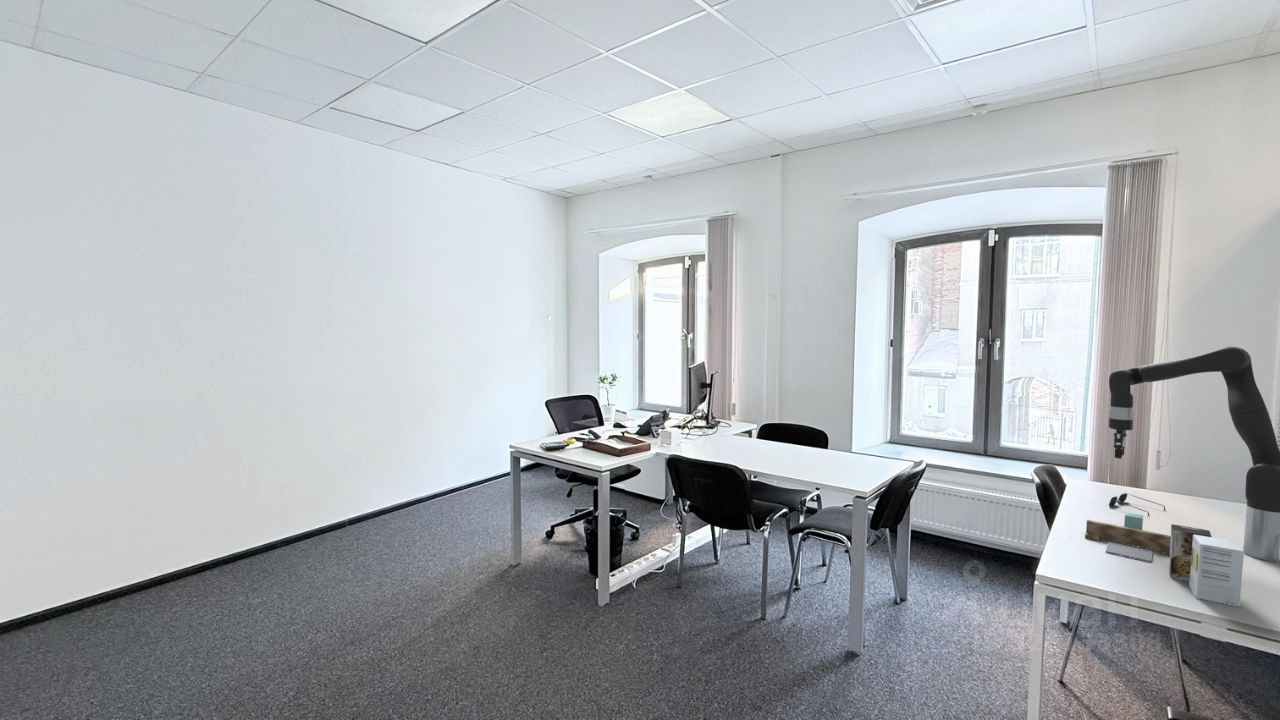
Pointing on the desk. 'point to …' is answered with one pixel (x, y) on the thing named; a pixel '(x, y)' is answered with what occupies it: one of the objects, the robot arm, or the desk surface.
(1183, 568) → the coffee box
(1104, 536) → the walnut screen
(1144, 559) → the grey mat
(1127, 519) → the teal block
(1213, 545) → the supplement box
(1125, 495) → the sunglasses
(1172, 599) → the desk surface
